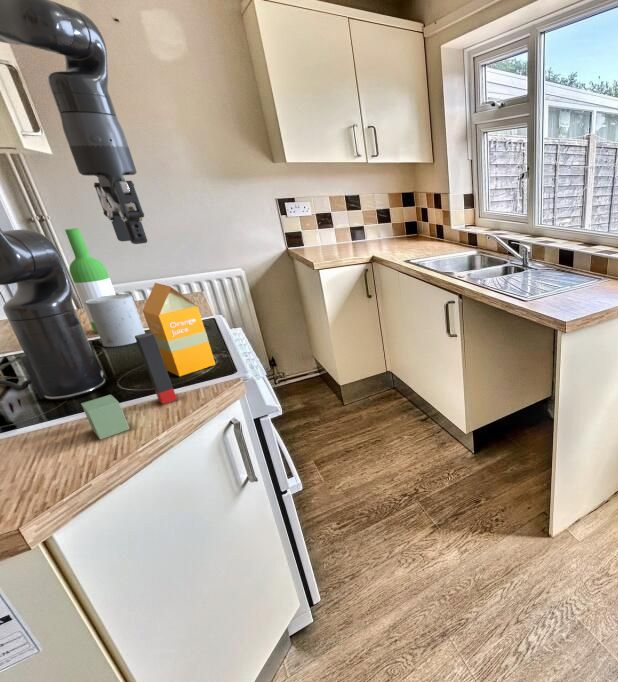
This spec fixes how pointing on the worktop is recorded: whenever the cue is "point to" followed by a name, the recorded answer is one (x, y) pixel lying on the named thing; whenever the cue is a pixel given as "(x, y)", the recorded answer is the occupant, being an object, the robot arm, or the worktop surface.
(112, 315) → the grey speckled cylinder
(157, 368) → the marker
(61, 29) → the robot arm
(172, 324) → the orange juice
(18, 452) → the worktop surface
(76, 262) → the wine bottle
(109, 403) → the block
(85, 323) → the worktop surface
